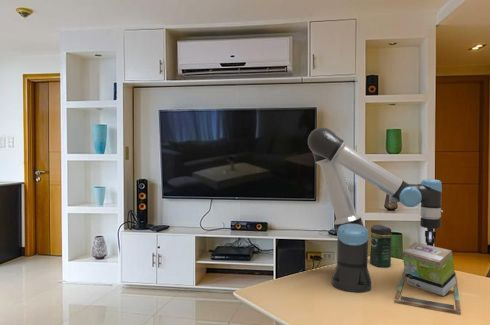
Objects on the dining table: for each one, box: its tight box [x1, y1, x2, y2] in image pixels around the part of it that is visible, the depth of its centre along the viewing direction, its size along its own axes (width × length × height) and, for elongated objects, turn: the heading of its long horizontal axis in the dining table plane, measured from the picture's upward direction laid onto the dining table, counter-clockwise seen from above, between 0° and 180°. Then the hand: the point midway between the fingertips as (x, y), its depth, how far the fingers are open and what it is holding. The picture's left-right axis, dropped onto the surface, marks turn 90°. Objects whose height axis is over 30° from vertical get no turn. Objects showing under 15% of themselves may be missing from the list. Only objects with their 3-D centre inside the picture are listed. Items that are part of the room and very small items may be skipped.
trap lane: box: [393, 267, 462, 316], centre depth 151 cm, size 20×47×1 cm, turn 153°
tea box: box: [401, 241, 457, 297], centre depth 148 cm, size 15×10×15 cm, turn 35°
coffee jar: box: [369, 224, 393, 268], centre depth 180 cm, size 10×8×19 cm
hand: (429, 274), depth 156 cm, fingers closed
